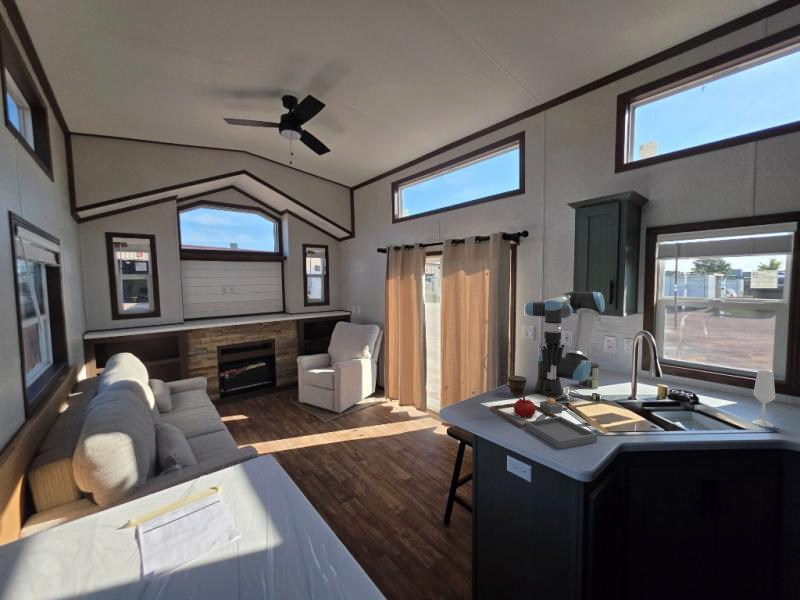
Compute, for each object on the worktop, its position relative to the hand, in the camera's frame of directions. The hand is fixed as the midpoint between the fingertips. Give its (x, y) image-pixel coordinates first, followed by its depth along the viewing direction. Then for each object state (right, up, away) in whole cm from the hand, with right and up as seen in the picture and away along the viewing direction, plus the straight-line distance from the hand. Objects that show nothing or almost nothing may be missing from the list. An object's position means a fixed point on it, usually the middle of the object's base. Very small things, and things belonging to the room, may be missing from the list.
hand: (551, 378), depth 163 cm
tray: (-8, -18, -25) cm, 32 cm away
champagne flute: (+90, -18, -13) cm, 93 cm away
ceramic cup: (-10, -15, +24) cm, 30 cm away
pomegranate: (-15, -17, -4) cm, 23 cm away
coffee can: (+41, -15, +40) cm, 60 cm away
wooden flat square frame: (-15, -17, -4) cm, 23 cm away
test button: (0, -14, +1) cm, 14 cm away
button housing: (0, -16, +1) cm, 16 cm away
